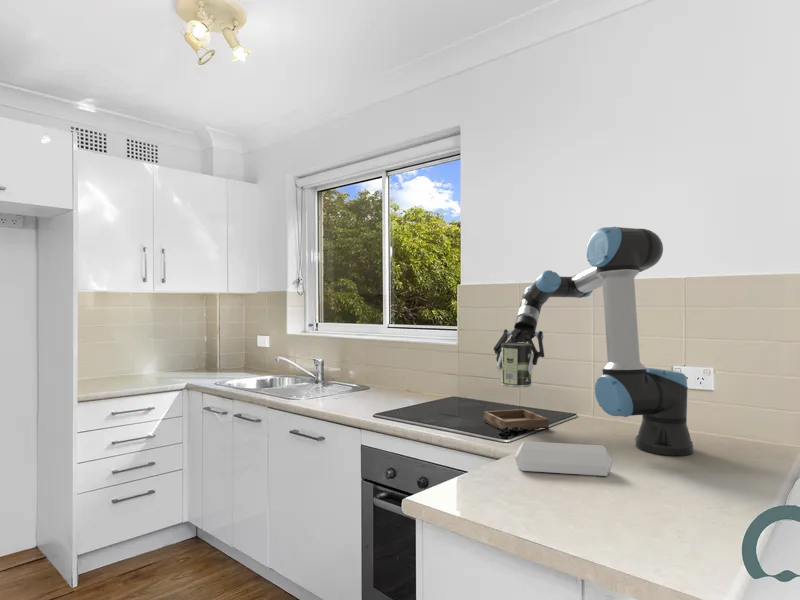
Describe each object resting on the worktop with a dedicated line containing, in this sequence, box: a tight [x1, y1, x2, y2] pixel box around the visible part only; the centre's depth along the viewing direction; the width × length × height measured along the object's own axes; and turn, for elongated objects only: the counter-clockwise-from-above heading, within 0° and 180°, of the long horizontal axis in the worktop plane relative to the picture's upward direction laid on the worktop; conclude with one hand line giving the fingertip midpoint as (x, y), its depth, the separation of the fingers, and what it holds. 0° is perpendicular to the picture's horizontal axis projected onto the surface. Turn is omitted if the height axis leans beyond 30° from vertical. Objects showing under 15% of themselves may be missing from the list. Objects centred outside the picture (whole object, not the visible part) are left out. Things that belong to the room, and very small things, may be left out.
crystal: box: [514, 440, 613, 477], centre depth 139 cm, size 7×7×24 cm
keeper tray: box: [482, 408, 550, 431], centre depth 186 cm, size 16×16×4 cm
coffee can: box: [500, 342, 533, 388], centre depth 185 cm, size 10×10×14 cm
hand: (513, 370), depth 183 cm, fingers closed on coffee can, 10 cm apart
